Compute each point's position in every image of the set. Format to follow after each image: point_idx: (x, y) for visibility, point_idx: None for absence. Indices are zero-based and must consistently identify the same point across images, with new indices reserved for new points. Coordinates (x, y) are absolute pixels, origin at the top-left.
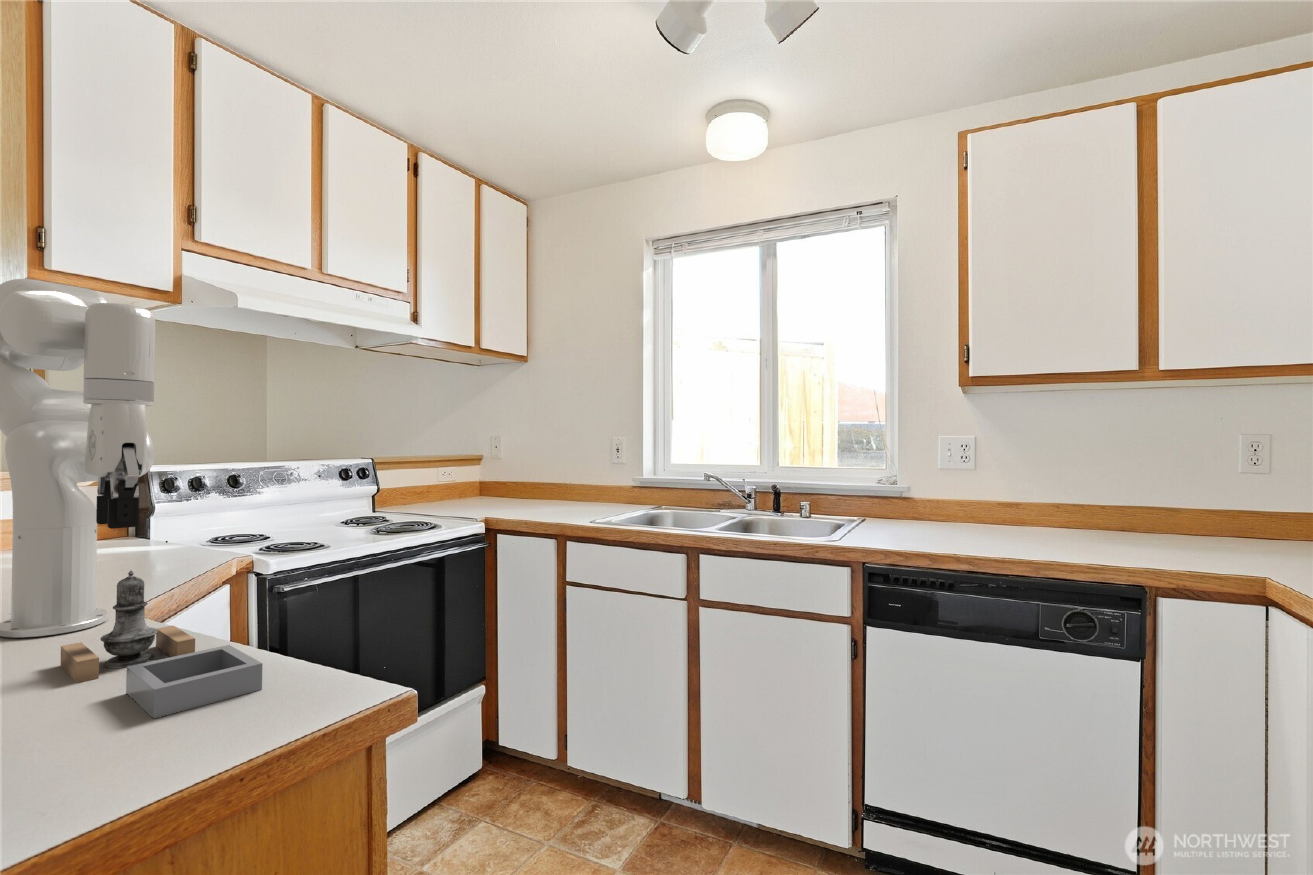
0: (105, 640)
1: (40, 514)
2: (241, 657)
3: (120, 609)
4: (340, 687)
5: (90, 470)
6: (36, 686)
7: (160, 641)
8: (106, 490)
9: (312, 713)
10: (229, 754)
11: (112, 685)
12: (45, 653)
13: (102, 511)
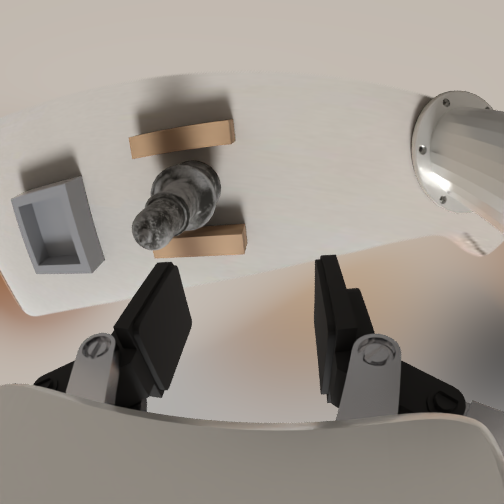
0: (165, 169)
1: None
2: (53, 268)
3: (148, 199)
4: (39, 298)
5: (212, 451)
6: (156, 97)
7: (222, 229)
8: (343, 376)
9: (10, 268)
10: None
11: (111, 165)
12: (318, 110)
13: (319, 293)
